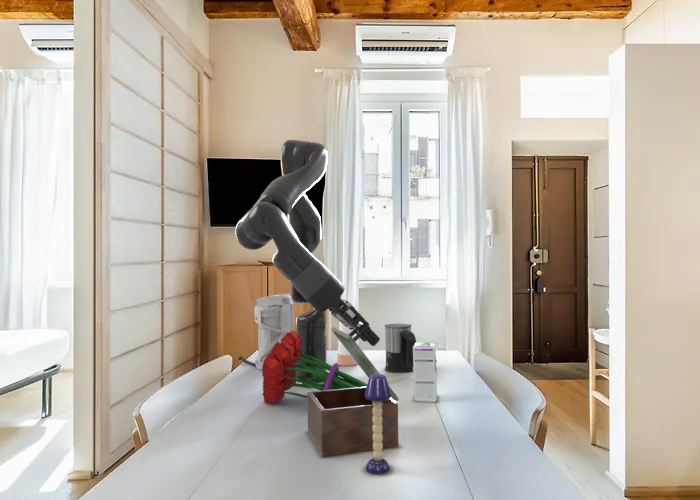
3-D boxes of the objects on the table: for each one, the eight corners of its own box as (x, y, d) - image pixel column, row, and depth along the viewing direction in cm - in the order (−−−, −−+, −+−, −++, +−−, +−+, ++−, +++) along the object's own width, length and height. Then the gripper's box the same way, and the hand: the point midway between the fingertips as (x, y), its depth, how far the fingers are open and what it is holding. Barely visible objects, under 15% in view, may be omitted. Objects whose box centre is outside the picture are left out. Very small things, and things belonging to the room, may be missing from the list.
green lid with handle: (347, 339, 94) (369, 320, 96) (330, 329, 107) (350, 312, 109) (396, 401, 97) (416, 383, 98) (373, 384, 110) (392, 368, 111)
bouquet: (368, 444, 114) (249, 411, 119) (376, 420, 131) (271, 392, 136) (385, 362, 114) (265, 333, 119) (391, 349, 130) (285, 323, 135)
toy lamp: (364, 463, 89) (363, 372, 90) (389, 462, 90) (388, 371, 90) (367, 475, 85) (366, 379, 85) (393, 474, 85) (392, 378, 85)
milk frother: (379, 369, 163) (378, 324, 163) (409, 361, 174) (409, 320, 174) (411, 376, 153) (410, 329, 153) (442, 368, 163) (441, 324, 163)
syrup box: (436, 402, 126) (435, 346, 126) (413, 401, 127) (412, 345, 127) (437, 396, 131) (436, 342, 132) (415, 395, 133) (414, 341, 133)
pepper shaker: (339, 361, 177) (338, 308, 177) (359, 361, 176) (358, 308, 176) (335, 365, 169) (335, 310, 170) (356, 366, 168) (355, 310, 169)
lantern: (251, 369, 165) (250, 295, 165) (260, 362, 175) (259, 293, 176) (288, 370, 163) (287, 295, 164) (295, 363, 174) (294, 293, 174)
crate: (322, 457, 93) (321, 410, 93) (307, 432, 106) (307, 391, 106) (398, 447, 97) (397, 402, 97) (375, 424, 110) (375, 385, 110)
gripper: (338, 272, 94) (396, 332, 97) (321, 270, 107) (373, 323, 111) (310, 300, 92) (371, 360, 95) (297, 294, 106) (350, 347, 109)
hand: (371, 340), depth 103 cm, fingers closed on green lid with handle, 5 cm apart
